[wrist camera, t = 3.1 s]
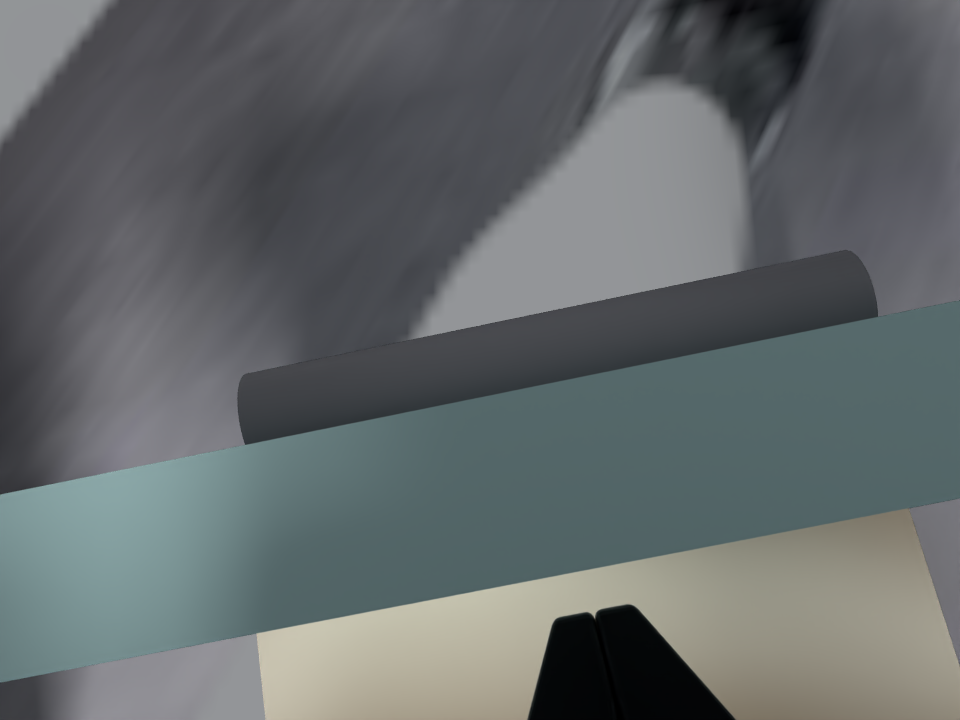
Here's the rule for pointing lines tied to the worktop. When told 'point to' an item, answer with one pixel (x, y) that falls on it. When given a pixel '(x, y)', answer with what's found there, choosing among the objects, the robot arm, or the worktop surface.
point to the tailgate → (498, 464)
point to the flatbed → (677, 617)
